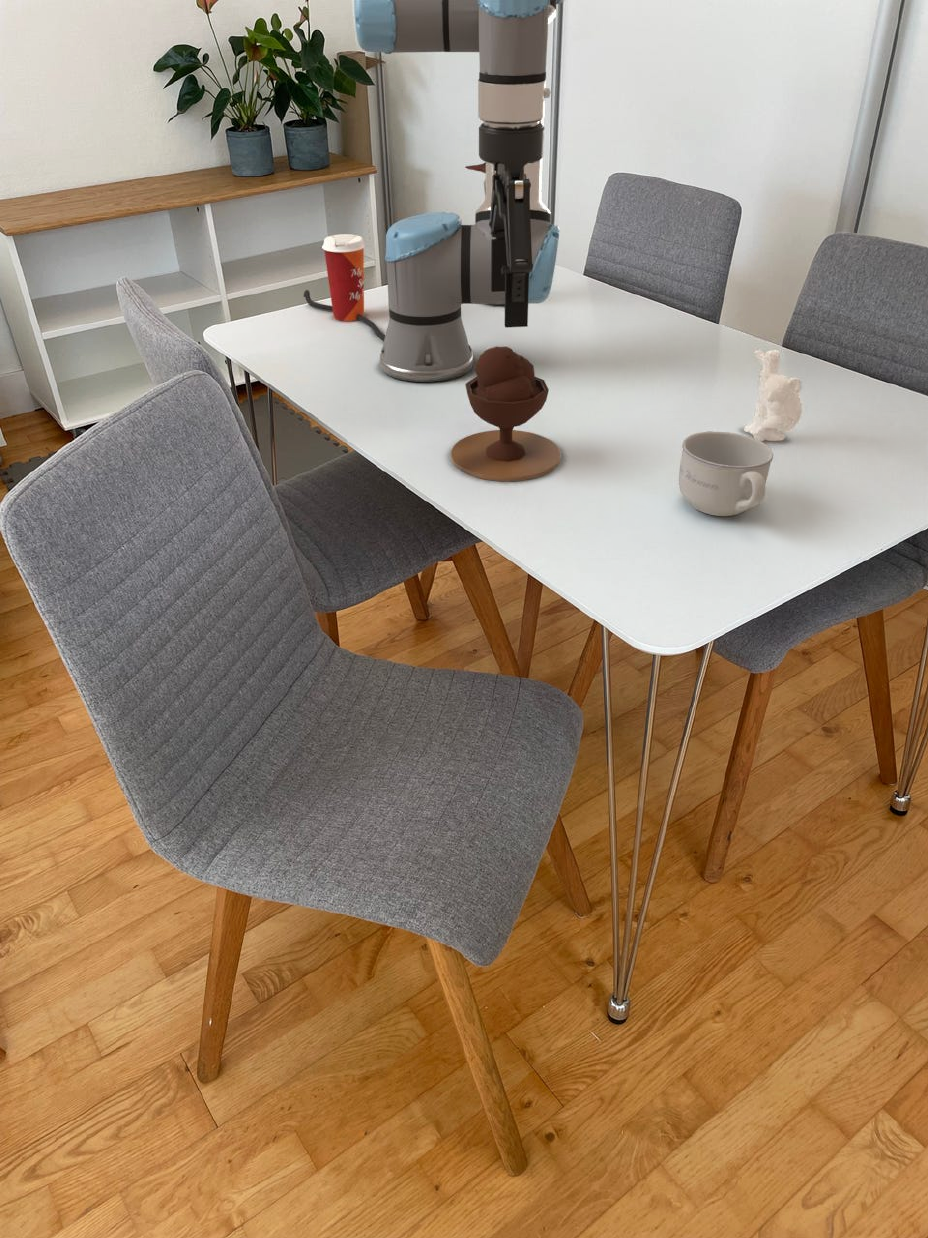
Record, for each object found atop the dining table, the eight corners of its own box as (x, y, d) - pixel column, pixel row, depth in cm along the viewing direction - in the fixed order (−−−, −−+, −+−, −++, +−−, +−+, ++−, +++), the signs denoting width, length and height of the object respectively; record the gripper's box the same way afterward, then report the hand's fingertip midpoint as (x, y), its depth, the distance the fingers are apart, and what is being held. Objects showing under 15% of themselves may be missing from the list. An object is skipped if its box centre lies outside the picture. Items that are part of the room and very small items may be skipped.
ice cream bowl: (540, 473, 133) (544, 363, 124) (457, 466, 134) (456, 357, 126) (551, 439, 141) (555, 334, 132) (473, 433, 143) (472, 329, 134)
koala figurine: (728, 430, 145) (740, 348, 138) (765, 421, 147) (779, 341, 140) (766, 453, 138) (782, 369, 131) (805, 443, 141) (821, 360, 134)
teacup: (665, 486, 130) (672, 429, 126) (747, 482, 131) (757, 425, 126) (695, 541, 119) (703, 480, 114) (784, 536, 120) (796, 476, 115)
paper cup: (367, 323, 184) (362, 244, 176) (325, 323, 184) (318, 244, 176) (371, 309, 190) (366, 232, 182) (330, 309, 191) (324, 232, 183)
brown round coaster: (428, 460, 137) (428, 456, 137) (496, 424, 147) (496, 420, 146) (516, 492, 129) (516, 488, 129) (581, 452, 139) (582, 448, 139)
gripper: (563, 142, 105) (554, 341, 117) (528, 103, 125) (523, 276, 137) (492, 144, 104) (490, 344, 116) (467, 104, 124) (468, 278, 137)
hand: (508, 307), depth 127 cm, fingers open, 13 cm apart
